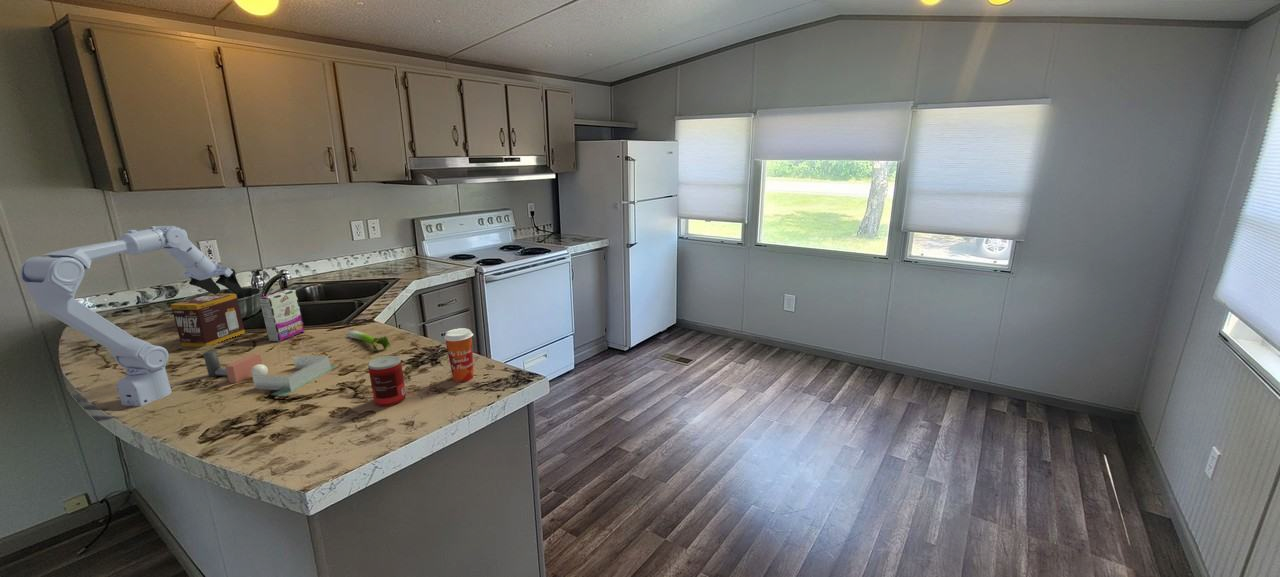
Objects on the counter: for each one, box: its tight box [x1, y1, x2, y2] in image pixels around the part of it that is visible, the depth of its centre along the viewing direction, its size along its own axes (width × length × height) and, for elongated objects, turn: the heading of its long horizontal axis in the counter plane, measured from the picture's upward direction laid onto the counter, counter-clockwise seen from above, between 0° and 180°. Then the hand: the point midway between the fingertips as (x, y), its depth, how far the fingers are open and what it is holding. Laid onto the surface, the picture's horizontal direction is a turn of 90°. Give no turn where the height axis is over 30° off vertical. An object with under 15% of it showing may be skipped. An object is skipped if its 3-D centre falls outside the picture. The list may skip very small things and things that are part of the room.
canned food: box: [367, 355, 407, 407], centre depth 133 cm, size 8×8×11 cm
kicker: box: [203, 350, 263, 384], centre depth 148 cm, size 9×13×7 cm
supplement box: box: [170, 293, 246, 348], centre depth 183 cm, size 10×15×16 cm
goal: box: [251, 355, 331, 392], centre depth 146 cm, size 15×11×4 cm
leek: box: [346, 330, 391, 353], centre depth 175 cm, size 6×7×30 cm
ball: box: [251, 363, 269, 377], centre depth 147 cm, size 4×4×4 cm
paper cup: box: [443, 327, 474, 383], centre depth 145 cm, size 8×8×14 cm
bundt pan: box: [180, 286, 264, 319], centre depth 210 cm, size 26×26×10 cm
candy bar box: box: [259, 289, 306, 343], centre depth 184 cm, size 11×5×16 cm, turn 168°
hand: (228, 291), depth 155 cm, fingers open, 7 cm apart
